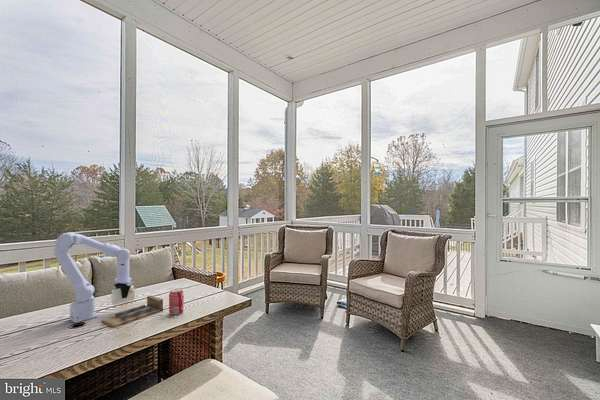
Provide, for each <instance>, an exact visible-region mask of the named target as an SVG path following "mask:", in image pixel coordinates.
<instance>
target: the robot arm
mask: <svg viewBox="0 0 600 400" xmlns="http://www.w3.org/2000/svg"><path fill="white" fill-rule="evenodd" d="M54 244H55V245H54V253H53V255H54V257H55V259H56V260H57V262H58V263H59V265H60V267H61V268H62V269H63V271H64V274H66V276H67V278H68V279H69V281H70V282H71V284H72V286H73V291H74V293H75V299H76V301H74V302H73V303H70V305H69V321H72V322H73V323H75V324H77V323H80V322H82V321H86V320H89V319H93V318H96V317H98V314H96V313H95V296H94V293H95V290H96V289H95V286H94V285H93V284H91V283H90V282H89V280H86V279H85V277H84V275H83V274H82V272H81V271H80V269H79V267H78V266H77V264H76V262H75V261H74V259H73V258H72V256H71V254H70V251H71V249H72V247H73V246H77V245H85V246H88V247H90V248H94V249H98V250H99V251H100V253H101V254H104V255H107V256H109V257H112V258H115V259H116V260H117V261H116V277H115V278H114V282H115V284H113V285H114V287H115V289H119V288H120V289H121V294H122V298H127V296H128V292H129V289H130V287H131V286H133V281H132V277H130V256H131V255H130V254H131V252H130V250H129V249H128V248H126V247H123V246H118V245H115V244H114V242H105V243H102V242H100V241H98V240H95V239H93V238H90V237H88V236H86V235H83V234H81V233H76V232H74V231H68V232H66V233H62V234H60V235H59V236H58V237H57V238H56V240H55V241H54Z"/></svg>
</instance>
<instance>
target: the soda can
mask: <svg viewBox="0 0 600 400" xmlns="http://www.w3.org/2000/svg"><path fill="white" fill-rule="evenodd" d="M184 294H185V292H184V291H183V289H182V288H173V289H170V293H169V294H168V311H169V314H170V315H172V316H178V315H180V314H182V313H183V312H184V310H185V309H184V307H185V305H184V304H185V303H184V302H185V298H184V297H185V295H184Z"/></svg>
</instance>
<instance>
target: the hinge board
mask: <svg viewBox="0 0 600 400" xmlns="http://www.w3.org/2000/svg"><path fill="white" fill-rule="evenodd" d="M163 311H164V299H162V298H160V297H157V296H153V295H147V296H146V304H142V305H138V306H136V307H132V308H129V309H125V310H122V311H120V312H119V311H118V312H116V313H115V315H113V316H110V317H106V318H104V319H101V323H103V324H105V323H106V324H105V325H107V326H109V327H111V328H114V329H115V328H118V327H121V326H123V325H127V324H128V323H132V322H135V321H137V320H140V319H143V318H146V317H148V316H149V317H150V316H152V315H155V314H157V313H160V312H163ZM120 325H121V326H120Z"/></svg>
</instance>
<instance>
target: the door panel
mask: <svg viewBox="0 0 600 400" xmlns="http://www.w3.org/2000/svg"><path fill="white" fill-rule="evenodd" d="M110 297H111V298H110V299H111V303H110V305H114V306H115V305H119V304H123V303H126V302H129V301H130V302H131V301H134V300H135V286H134V285H132V286H131V287H130V289H129V292H128V296H127V298H122V294H121V289H120V288H119V289H116V288H115V289H112V290H111V296H110Z"/></svg>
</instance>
